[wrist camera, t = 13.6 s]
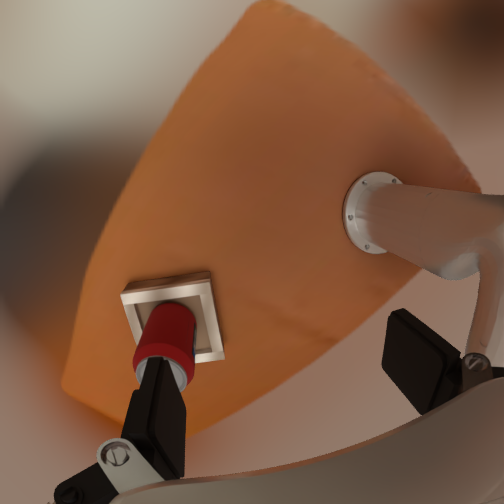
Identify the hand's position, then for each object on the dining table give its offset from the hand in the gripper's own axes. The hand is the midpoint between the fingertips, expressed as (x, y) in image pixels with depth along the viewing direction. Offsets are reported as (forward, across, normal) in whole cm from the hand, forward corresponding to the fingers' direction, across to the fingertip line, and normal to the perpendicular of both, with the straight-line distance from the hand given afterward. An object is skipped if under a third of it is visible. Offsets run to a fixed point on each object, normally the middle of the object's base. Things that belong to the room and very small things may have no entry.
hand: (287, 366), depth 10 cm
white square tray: (+28, +10, +11) cm, 32 cm away
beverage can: (+26, +10, +10) cm, 29 cm away
